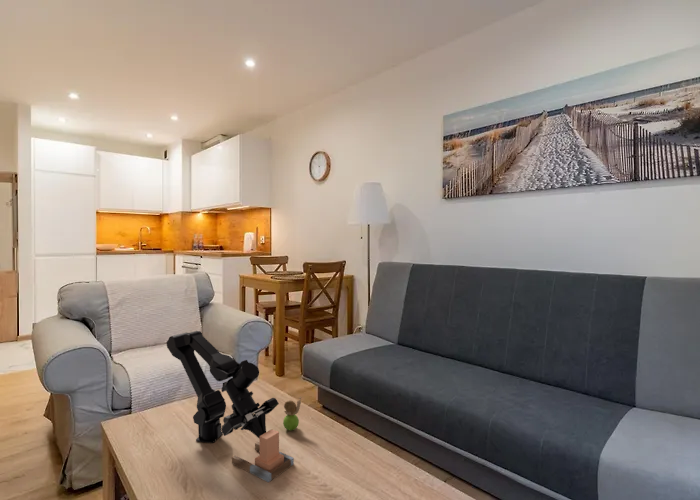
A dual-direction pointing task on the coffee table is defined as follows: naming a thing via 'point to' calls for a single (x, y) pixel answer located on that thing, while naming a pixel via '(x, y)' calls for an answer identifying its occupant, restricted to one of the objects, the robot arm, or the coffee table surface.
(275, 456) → the block
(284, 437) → the coffee table surface
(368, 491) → the coffee table surface
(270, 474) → the beam slot
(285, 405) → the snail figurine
